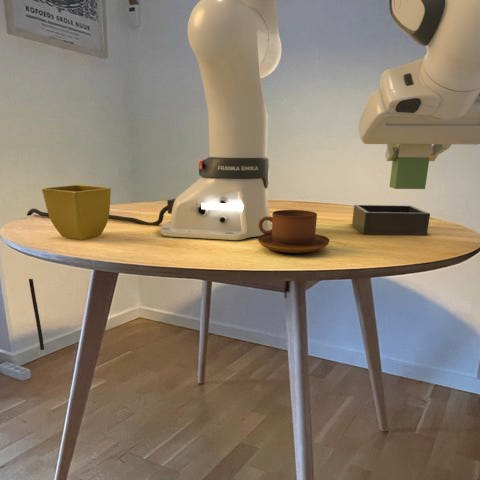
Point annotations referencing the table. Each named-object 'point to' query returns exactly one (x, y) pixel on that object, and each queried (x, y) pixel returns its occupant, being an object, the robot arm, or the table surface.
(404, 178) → the packet
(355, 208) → the dark open box
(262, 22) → the robot arm
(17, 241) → the table surface
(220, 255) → the table surface
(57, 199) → the flower pot
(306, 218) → the cup and saucer
